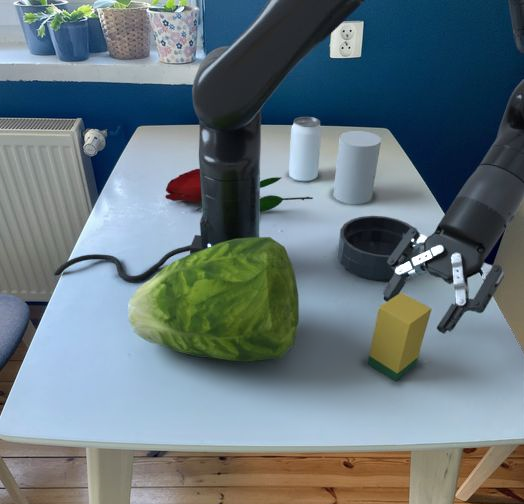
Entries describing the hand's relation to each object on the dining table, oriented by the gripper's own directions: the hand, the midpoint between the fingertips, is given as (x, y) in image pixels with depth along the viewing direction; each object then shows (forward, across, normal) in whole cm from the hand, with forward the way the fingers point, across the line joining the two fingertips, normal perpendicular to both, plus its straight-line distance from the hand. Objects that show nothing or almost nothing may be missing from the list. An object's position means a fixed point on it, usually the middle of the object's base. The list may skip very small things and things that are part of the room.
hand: (413, 316), depth 72 cm
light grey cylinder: (-19, -37, +29) cm, 51 cm away
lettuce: (+18, -20, -8) cm, 28 cm away
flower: (-3, -49, +13) cm, 50 cm away
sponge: (+7, 0, +3) cm, 8 cm away
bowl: (-7, -18, +17) cm, 26 cm away
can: (-18, -51, +28) cm, 61 cm away
